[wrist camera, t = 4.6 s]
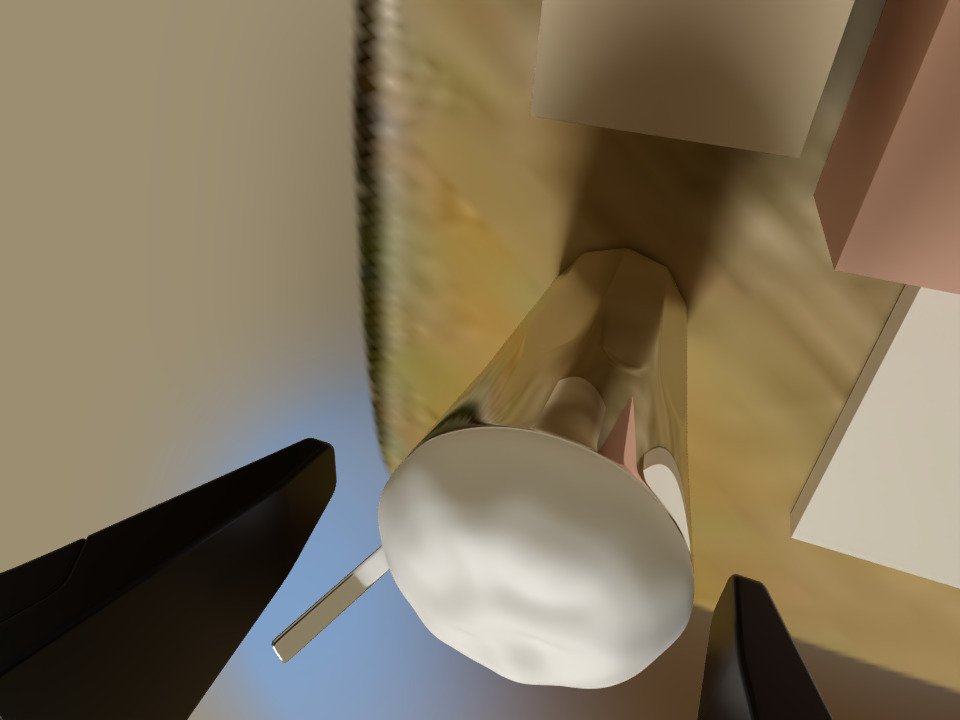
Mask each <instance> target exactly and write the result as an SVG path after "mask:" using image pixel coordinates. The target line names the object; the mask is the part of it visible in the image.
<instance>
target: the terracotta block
mask: <svg viewBox="0 0 960 720" xmlns="http://www.w3.org/2000/svg"><path fill="white" fill-rule="evenodd" d="M814 199H815V202H816V206H817V209H818V213H819V217H820V220H821V224H822V227H823V231H824V234H825V238H826V242H827V245H828V249H829V252H830V256H831V259H832V263H833V267H834V270H837V271H842V272H847V273H852V274H857V275H862V276H867V277H873V278H878V279H883V280H888V281H893V282H898V283H903V284H908V285H913V286H918V287H924V288H929V289H934V290H939V291H944V292H949V293H954V294H959V295H960V0H887V1H886V4H885V7H884V9H883V12H882V15H881V17H880V20H879V23H878V25H877V28H876V30H875V33H874V36H873V38H872V41H871V44H870V46H869V49H868V52H867V54H866V57H865V60H864V62H863V65H862V68H861V70H860V73H859V76H858V78H857V81H856V84H855V86H854V89H853V92H852V94H851V97H850V100H849V102H848V105H847V108H846V110H845V113H844V116H843V118H842V121H841V124H840V126H839V129H838V131H837V134H836V137H835V139H834V142H833V145H832V147H831V150H830V153H829V155H828V158H827V161H826V163H825V166H824V169H823V171H822V174H821V177H820V179H819V182H818V185H817V187H816V190H815V193H814Z"/></svg>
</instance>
